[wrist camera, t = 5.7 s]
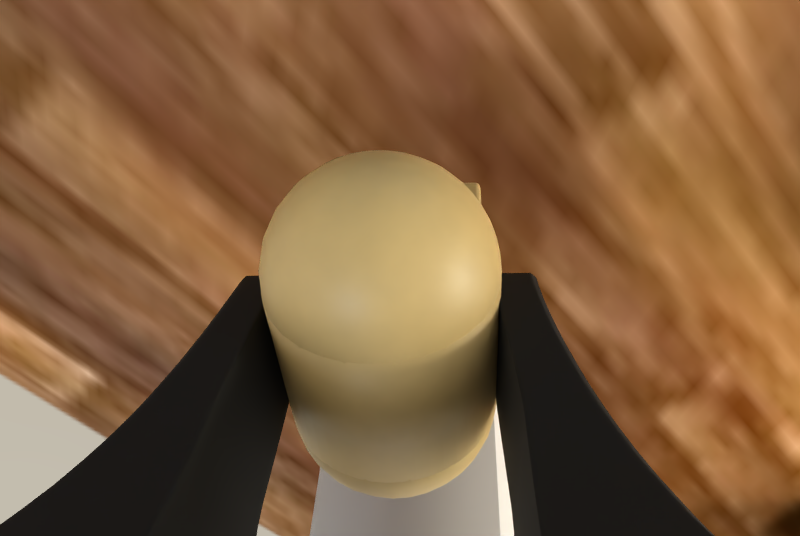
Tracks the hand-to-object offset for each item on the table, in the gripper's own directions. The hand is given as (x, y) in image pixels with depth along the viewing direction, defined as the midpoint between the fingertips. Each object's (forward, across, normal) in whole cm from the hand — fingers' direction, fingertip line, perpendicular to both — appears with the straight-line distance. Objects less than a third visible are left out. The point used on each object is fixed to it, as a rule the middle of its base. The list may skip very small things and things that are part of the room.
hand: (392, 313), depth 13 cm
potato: (+1, 0, 0) cm, 1 cm away
